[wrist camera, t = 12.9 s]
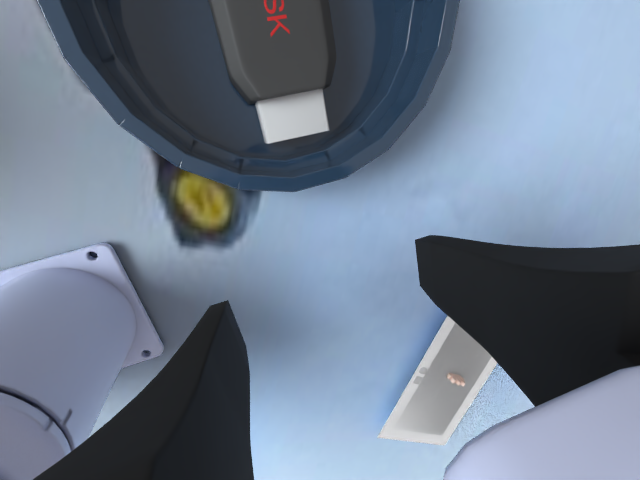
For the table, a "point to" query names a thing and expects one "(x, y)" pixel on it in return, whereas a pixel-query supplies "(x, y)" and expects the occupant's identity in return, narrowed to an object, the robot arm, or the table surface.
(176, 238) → the table surface
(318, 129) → the usb drive
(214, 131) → the bowl
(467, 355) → the touchpad
